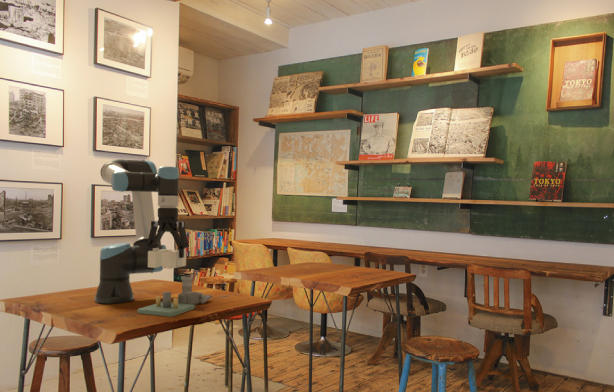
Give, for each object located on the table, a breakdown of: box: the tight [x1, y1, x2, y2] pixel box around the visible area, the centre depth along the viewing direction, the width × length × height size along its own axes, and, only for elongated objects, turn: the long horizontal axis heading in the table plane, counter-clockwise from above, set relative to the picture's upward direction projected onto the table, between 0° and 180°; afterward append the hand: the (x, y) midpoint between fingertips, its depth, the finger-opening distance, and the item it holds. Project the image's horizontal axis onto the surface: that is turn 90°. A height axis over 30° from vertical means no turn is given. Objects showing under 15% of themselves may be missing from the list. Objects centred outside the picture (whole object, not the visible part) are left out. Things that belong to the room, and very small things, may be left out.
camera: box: [177, 275, 213, 306], centre depth 202 cm, size 9×12×15 cm
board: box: [137, 291, 196, 318], centre depth 189 cm, size 15×15×7 cm
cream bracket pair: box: [148, 248, 187, 270], centre depth 189 cm, size 10×10×6 cm
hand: (167, 265), depth 189 cm, fingers closed on cream bracket pair, 10 cm apart
